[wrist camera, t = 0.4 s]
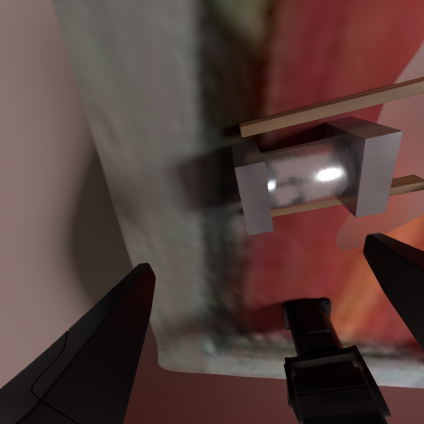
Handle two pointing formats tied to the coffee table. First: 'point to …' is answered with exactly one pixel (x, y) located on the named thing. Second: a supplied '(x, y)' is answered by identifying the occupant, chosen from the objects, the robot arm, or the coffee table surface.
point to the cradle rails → (335, 108)
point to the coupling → (319, 172)
